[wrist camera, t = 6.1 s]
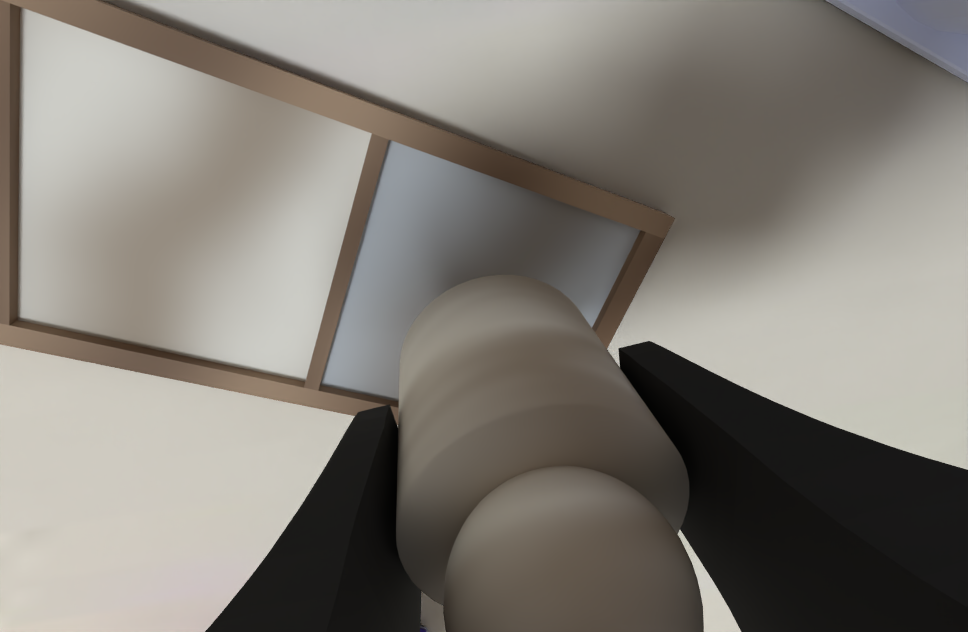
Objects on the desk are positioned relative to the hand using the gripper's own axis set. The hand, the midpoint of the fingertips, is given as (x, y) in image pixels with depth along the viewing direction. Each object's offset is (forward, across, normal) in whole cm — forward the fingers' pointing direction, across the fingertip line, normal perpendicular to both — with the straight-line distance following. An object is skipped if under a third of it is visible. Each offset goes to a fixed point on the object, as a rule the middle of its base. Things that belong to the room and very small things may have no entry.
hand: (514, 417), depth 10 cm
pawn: (+2, 0, 0) cm, 2 cm away
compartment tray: (+5, +6, -4) cm, 9 cm away
